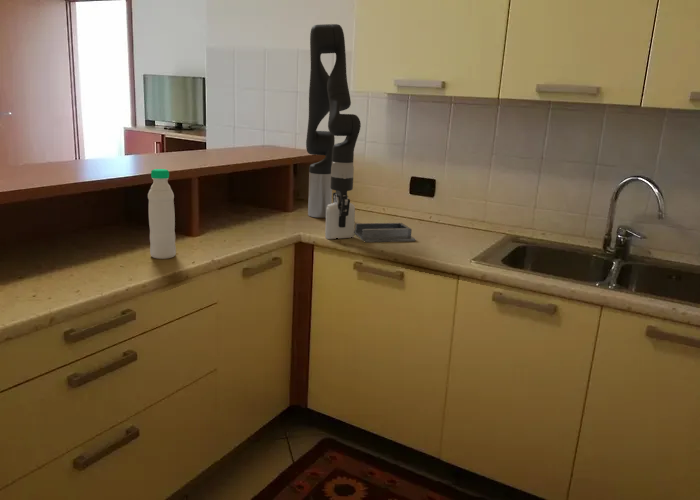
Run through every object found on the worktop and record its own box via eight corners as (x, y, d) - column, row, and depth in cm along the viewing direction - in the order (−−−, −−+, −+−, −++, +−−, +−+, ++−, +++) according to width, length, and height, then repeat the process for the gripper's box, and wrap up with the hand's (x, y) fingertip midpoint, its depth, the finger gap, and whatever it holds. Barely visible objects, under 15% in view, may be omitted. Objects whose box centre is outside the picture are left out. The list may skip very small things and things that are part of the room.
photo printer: (327, 240, 196) (329, 203, 192) (323, 237, 199) (324, 201, 196) (355, 238, 200) (357, 202, 197) (350, 235, 204) (352, 200, 200)
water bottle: (153, 260, 164) (149, 171, 157) (148, 253, 170) (144, 168, 163) (178, 258, 167) (175, 170, 161) (173, 251, 173) (170, 167, 167)
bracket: (353, 232, 208) (354, 222, 207) (400, 231, 213) (401, 221, 212) (364, 242, 195) (365, 231, 194) (415, 241, 200) (415, 230, 199)
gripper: (326, 172, 200) (324, 221, 204) (336, 178, 186) (334, 230, 191) (347, 172, 202) (345, 220, 206) (359, 178, 188) (356, 230, 193)
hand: (340, 225), depth 198 cm, fingers closed on photo printer, 4 cm apart
